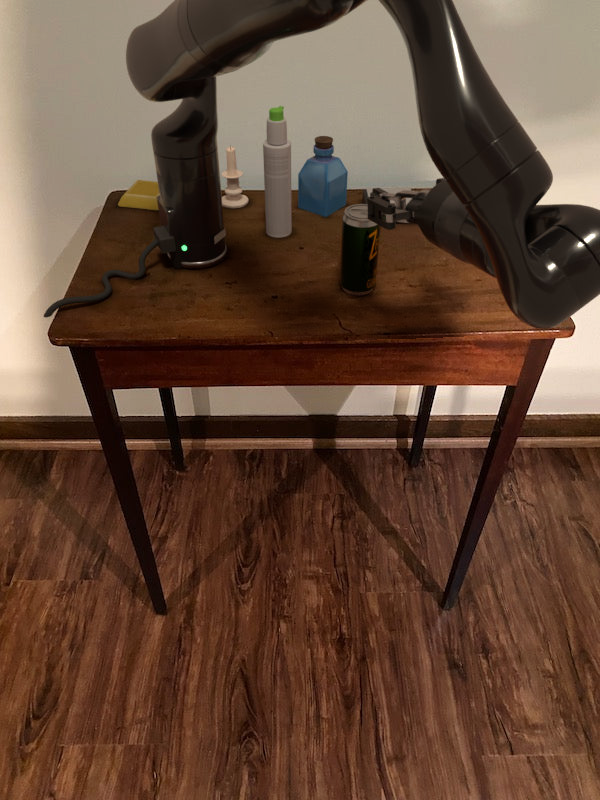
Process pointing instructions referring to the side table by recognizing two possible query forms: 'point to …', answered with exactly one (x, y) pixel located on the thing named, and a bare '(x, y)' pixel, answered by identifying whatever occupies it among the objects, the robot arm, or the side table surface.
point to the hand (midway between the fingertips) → (406, 191)
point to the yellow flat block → (141, 195)
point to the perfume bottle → (322, 180)
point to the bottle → (277, 175)
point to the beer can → (359, 251)
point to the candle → (233, 183)
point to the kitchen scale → (390, 190)
